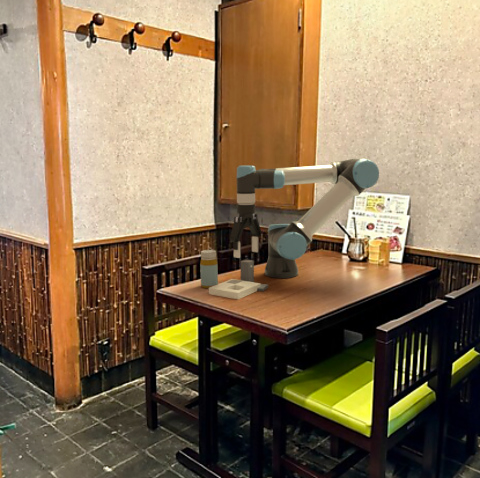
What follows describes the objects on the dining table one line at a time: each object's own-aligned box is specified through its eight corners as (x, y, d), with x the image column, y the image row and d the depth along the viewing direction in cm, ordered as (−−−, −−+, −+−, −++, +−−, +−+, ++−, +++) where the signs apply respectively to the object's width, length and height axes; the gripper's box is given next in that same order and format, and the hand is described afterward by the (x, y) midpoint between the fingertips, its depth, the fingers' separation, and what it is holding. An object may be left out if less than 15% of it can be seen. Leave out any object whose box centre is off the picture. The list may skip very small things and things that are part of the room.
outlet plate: (232, 284, 206) (232, 278, 206) (260, 289, 198) (260, 283, 198) (208, 294, 193) (208, 287, 193) (238, 299, 185) (238, 292, 185)
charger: (246, 282, 209) (245, 259, 208) (254, 283, 207) (254, 260, 205) (240, 284, 206) (240, 261, 204) (249, 286, 204) (248, 262, 202)
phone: (260, 286, 203) (260, 283, 203) (268, 286, 202) (268, 284, 202) (255, 290, 196) (255, 288, 196) (263, 291, 195) (263, 288, 195)
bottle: (210, 283, 209) (209, 248, 206) (221, 286, 204) (220, 251, 201) (197, 286, 204) (196, 251, 201) (208, 289, 199) (207, 253, 196)
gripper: (254, 200, 213) (254, 248, 217) (220, 206, 193) (221, 258, 196) (269, 201, 209) (269, 250, 212) (236, 207, 188) (236, 261, 192)
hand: (246, 254), depth 204 cm, fingers open, 13 cm apart
